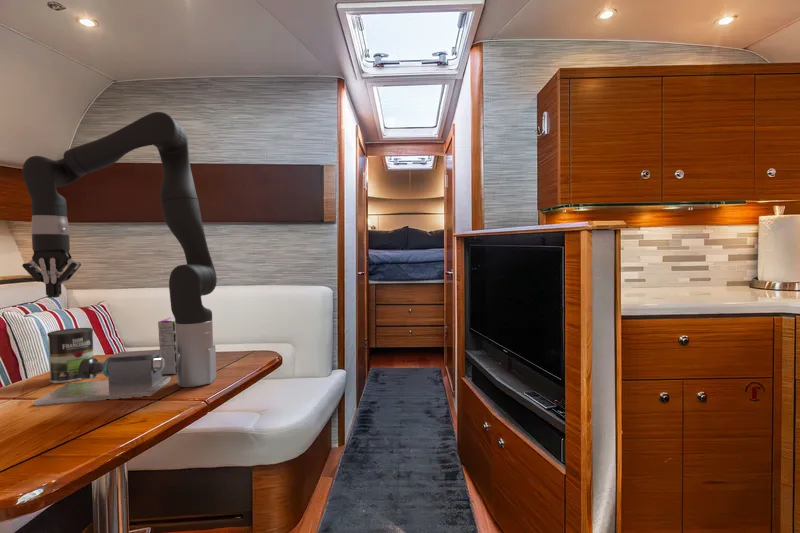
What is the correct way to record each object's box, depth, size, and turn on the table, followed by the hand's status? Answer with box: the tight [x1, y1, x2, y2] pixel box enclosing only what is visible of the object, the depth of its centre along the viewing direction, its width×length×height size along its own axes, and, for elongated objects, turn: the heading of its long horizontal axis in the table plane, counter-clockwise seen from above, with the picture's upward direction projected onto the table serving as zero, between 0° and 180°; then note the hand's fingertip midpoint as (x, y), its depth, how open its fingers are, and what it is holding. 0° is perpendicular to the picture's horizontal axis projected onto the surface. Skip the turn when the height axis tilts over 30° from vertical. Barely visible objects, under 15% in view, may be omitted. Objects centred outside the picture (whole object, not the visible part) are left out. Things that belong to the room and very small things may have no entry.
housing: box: [33, 349, 171, 406], centre depth 102 cm, size 26×13×10 cm, turn 101°
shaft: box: [79, 357, 165, 380], centre depth 103 cm, size 18×5×5 cm, turn 101°
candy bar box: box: [157, 315, 177, 376], centre depth 121 cm, size 11×5×16 cm, turn 6°
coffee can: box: [46, 327, 95, 384], centre depth 115 cm, size 10×10×14 cm
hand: (53, 297), depth 105 cm, fingers closed
